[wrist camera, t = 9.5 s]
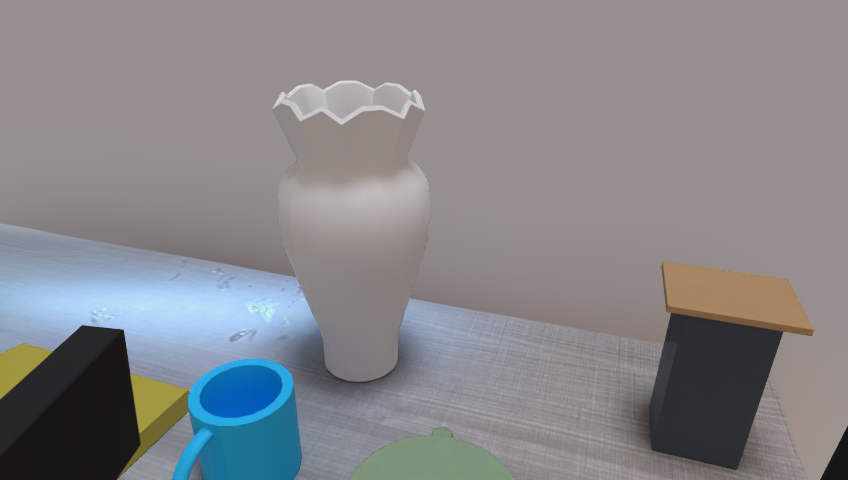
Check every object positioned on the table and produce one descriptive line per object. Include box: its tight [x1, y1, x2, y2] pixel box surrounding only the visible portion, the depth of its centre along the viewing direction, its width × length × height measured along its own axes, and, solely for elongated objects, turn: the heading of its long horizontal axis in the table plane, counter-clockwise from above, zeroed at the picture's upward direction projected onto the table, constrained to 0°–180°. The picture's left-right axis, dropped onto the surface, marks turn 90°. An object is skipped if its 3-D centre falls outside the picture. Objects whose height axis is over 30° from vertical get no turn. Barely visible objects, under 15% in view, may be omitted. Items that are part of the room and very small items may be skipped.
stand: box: [650, 262, 814, 469], centre depth 49 cm, size 10×8×16 cm
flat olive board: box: [0, 343, 189, 476], centre depth 53 cm, size 12×2×24 cm
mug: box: [172, 359, 302, 480], centre depth 46 cm, size 12×8×8 cm
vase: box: [272, 81, 431, 382], centre depth 56 cm, size 15×15×29 cm
